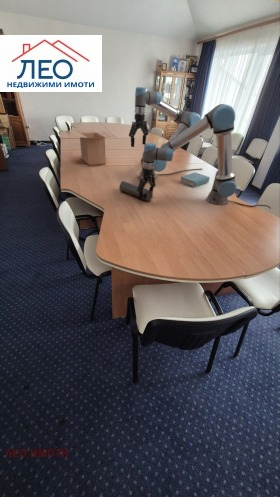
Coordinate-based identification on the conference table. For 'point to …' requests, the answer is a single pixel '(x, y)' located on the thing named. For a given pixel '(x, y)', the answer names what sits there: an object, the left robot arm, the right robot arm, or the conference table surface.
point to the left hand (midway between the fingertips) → (138, 145)
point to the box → (92, 146)
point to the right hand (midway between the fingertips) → (145, 197)
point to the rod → (135, 190)
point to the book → (194, 179)
